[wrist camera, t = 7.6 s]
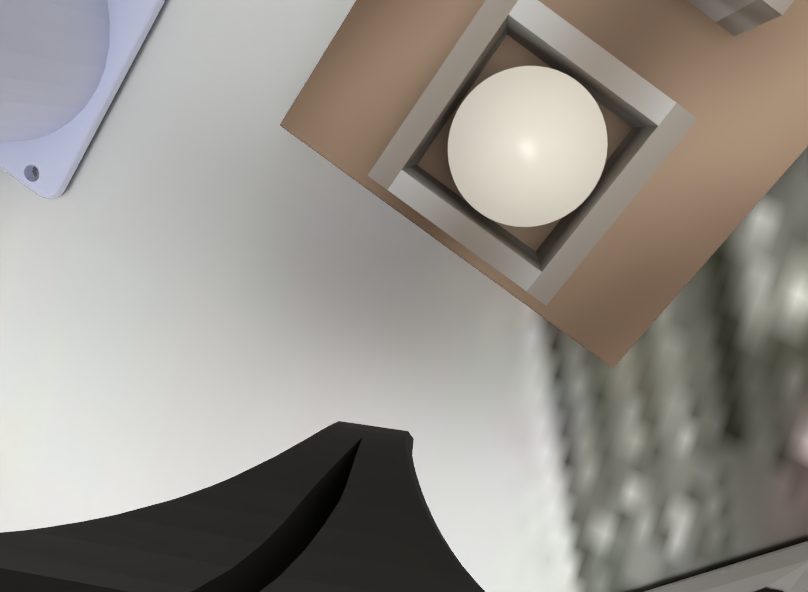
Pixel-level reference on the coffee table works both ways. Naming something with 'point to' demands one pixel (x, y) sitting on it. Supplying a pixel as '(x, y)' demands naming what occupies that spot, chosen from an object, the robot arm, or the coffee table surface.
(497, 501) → the coffee table surface
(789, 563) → the electrical switch
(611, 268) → the panel
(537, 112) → the plug cream
